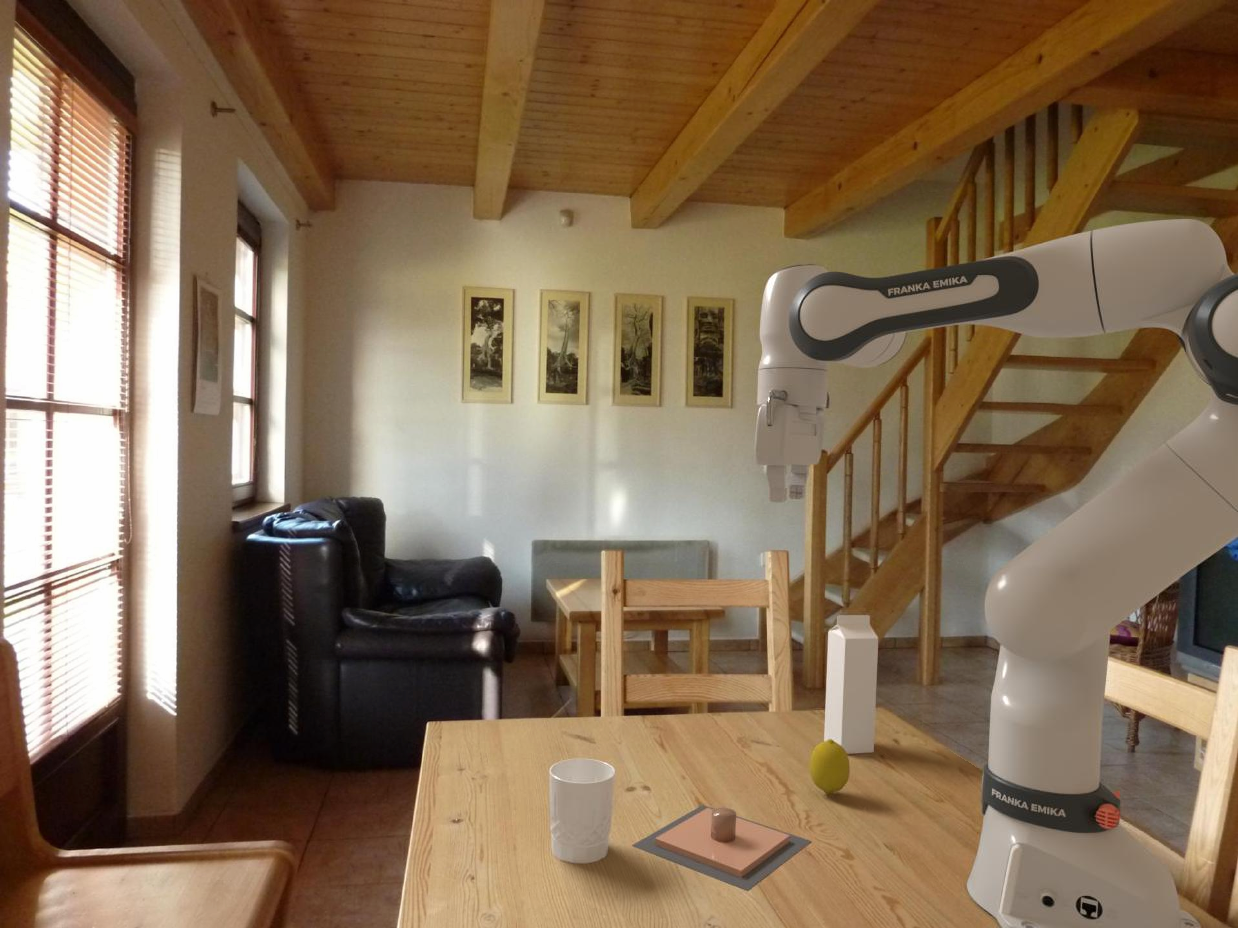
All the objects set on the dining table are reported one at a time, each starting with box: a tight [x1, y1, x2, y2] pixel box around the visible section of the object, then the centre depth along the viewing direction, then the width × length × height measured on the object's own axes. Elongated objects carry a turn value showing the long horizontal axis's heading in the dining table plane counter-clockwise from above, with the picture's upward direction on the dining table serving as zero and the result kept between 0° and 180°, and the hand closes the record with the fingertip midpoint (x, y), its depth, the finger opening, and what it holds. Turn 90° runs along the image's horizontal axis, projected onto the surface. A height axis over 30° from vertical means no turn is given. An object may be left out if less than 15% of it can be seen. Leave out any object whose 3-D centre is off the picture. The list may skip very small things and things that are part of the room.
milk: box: [823, 614, 879, 755], centre depth 144 cm, size 6×6×22 cm
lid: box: [655, 807, 790, 878], centre depth 107 cm, size 12×12×4 cm
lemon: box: [809, 739, 851, 796], centre depth 124 cm, size 6×6×8 cm
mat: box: [631, 804, 812, 892], centre depth 107 cm, size 16×16×1 cm
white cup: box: [548, 758, 616, 864], centre depth 104 cm, size 8×8×10 cm
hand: (787, 500), depth 113 cm, fingers open, 8 cm apart
